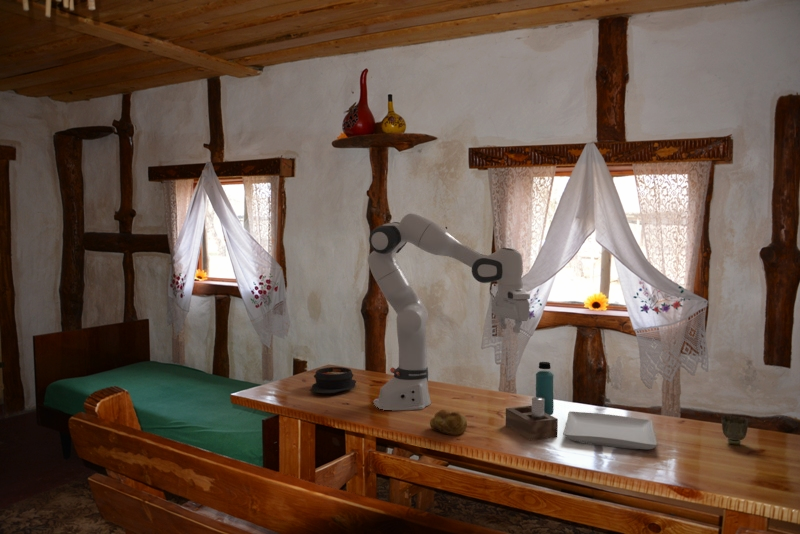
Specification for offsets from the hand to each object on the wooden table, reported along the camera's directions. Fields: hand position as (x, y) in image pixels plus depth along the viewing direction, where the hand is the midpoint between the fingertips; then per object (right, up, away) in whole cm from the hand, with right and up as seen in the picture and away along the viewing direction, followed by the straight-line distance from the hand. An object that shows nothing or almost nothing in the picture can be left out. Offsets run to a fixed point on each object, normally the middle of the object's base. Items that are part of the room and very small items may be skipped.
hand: (509, 330), depth 208 cm
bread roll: (-24, -32, -16) cm, 43 cm away
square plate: (+29, -33, -21) cm, 48 cm away
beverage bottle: (+12, -31, -1) cm, 34 cm away
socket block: (+4, -32, -16) cm, 36 cm away
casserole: (-68, -30, +37) cm, 83 cm away
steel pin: (+5, -30, -20) cm, 36 cm away
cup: (+65, -33, -28) cm, 78 cm away
